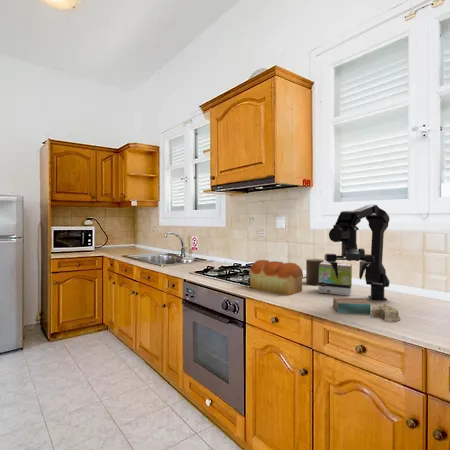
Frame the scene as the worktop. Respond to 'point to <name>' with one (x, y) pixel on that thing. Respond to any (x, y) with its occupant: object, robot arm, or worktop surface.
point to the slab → (351, 305)
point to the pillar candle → (312, 271)
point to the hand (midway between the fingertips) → (348, 278)
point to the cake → (386, 313)
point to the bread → (276, 277)
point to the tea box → (335, 279)
